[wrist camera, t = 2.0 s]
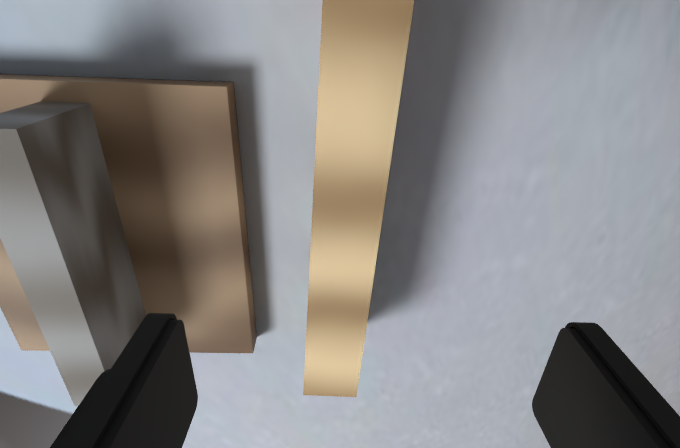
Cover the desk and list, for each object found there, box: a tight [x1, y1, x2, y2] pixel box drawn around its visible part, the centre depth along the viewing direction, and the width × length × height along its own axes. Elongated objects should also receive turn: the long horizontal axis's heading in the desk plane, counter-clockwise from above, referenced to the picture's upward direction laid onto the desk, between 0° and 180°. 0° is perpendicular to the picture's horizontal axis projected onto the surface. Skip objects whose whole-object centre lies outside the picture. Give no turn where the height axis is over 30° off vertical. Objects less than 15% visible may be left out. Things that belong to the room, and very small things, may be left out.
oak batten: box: [303, 0, 414, 397], centre depth 20 cm, size 26×3×6 cm, turn 176°
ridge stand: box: [0, 74, 257, 406], centre depth 21 cm, size 18×16×6 cm
